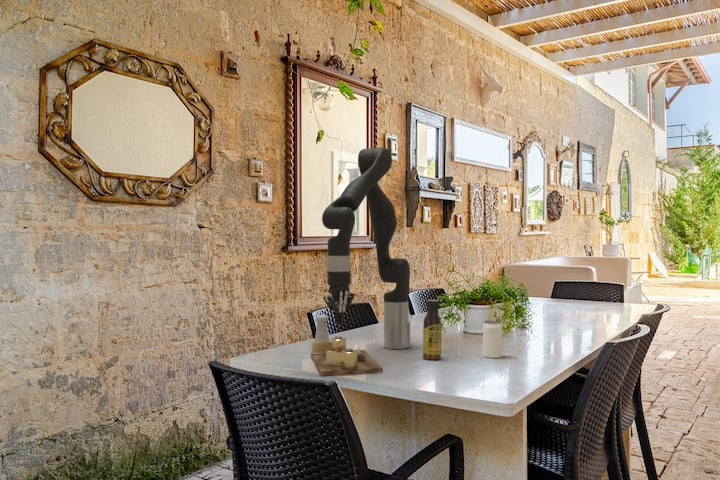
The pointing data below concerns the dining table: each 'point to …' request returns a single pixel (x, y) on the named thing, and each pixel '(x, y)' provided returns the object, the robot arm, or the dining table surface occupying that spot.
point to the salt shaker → (321, 329)
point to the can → (492, 339)
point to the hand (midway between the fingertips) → (339, 323)
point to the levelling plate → (330, 369)
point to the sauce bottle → (432, 332)
